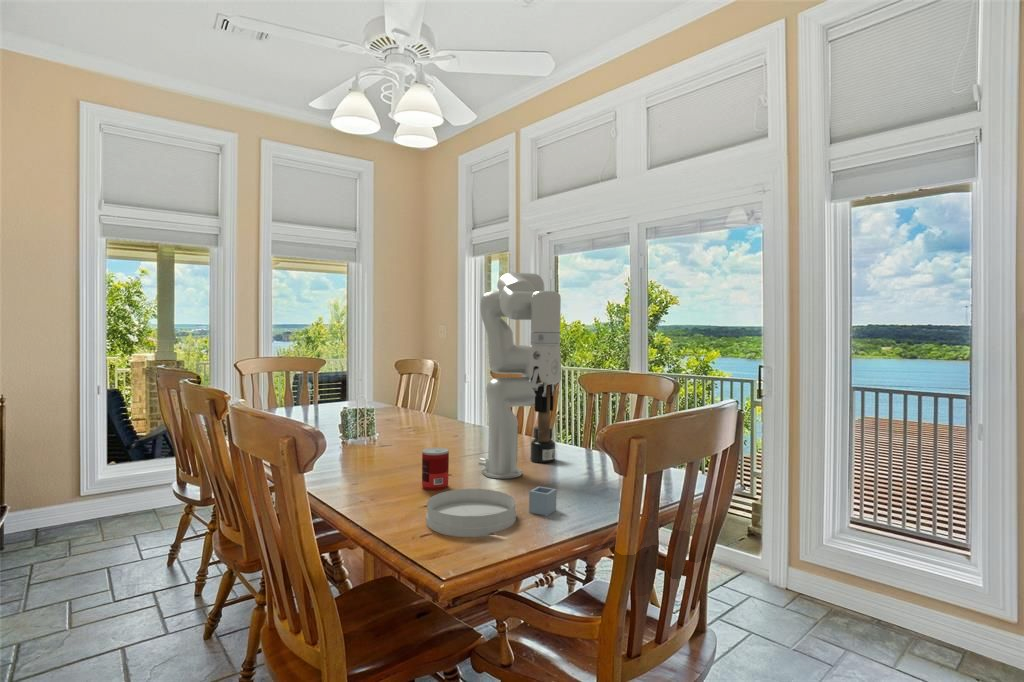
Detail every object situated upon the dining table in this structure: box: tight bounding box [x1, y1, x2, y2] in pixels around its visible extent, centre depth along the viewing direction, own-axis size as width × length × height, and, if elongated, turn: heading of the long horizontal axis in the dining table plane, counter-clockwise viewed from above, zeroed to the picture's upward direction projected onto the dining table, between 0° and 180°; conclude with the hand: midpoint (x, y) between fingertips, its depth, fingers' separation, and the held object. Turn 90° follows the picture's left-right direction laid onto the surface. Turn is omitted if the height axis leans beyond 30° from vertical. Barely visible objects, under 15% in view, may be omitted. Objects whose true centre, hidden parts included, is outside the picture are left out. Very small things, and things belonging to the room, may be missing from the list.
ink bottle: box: [529, 425, 556, 464], centre depth 198 cm, size 10×9×12 cm
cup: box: [528, 486, 557, 517], centre depth 141 cm, size 5×5×6 cm
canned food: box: [421, 447, 450, 491], centre depth 164 cm, size 8×8×11 cm
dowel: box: [537, 385, 551, 442], centre depth 141 cm, size 3×3×14 cm
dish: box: [425, 488, 517, 538], centre depth 135 cm, size 22×22×5 cm
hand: (544, 410), depth 141 cm, fingers closed on dowel, 3 cm apart
